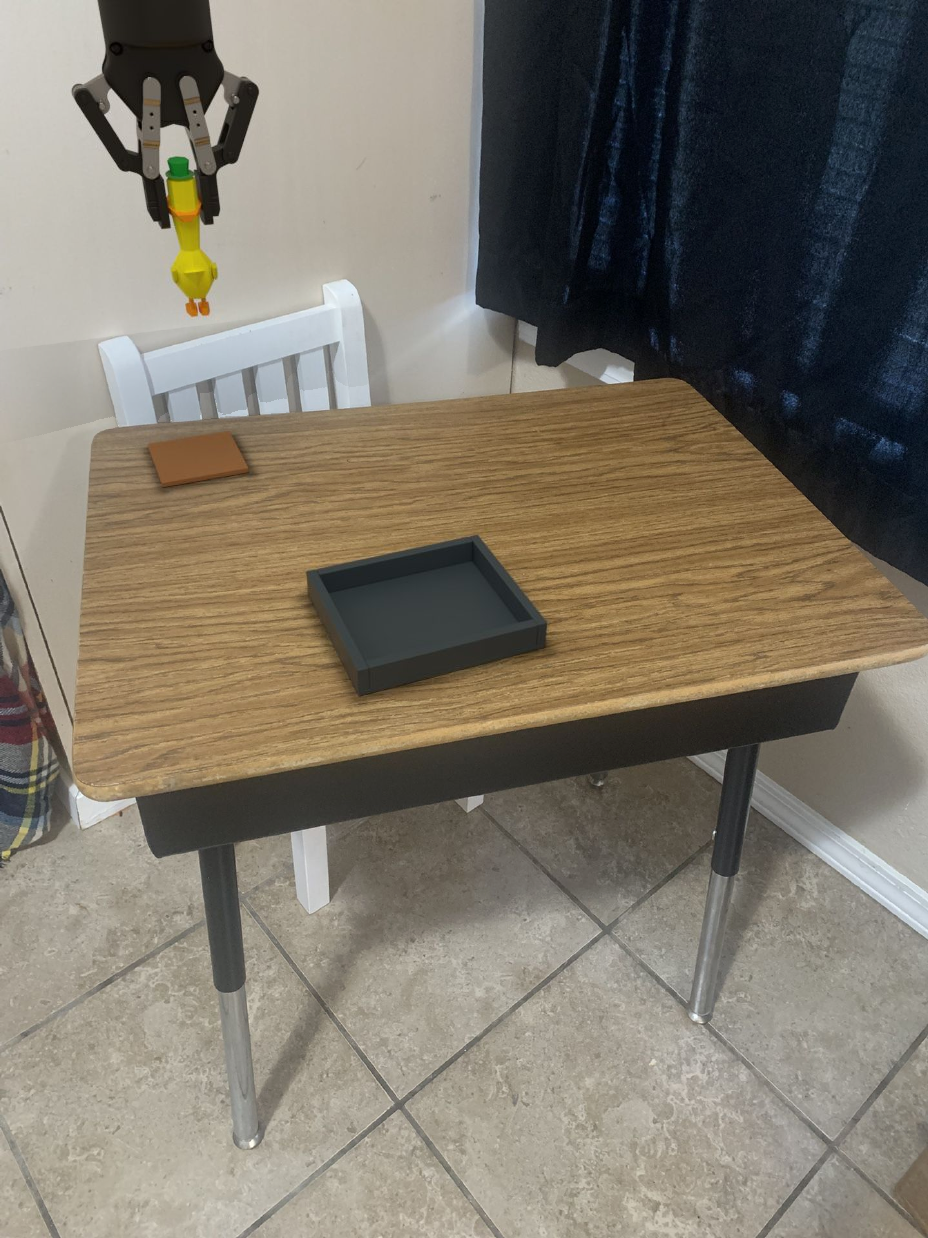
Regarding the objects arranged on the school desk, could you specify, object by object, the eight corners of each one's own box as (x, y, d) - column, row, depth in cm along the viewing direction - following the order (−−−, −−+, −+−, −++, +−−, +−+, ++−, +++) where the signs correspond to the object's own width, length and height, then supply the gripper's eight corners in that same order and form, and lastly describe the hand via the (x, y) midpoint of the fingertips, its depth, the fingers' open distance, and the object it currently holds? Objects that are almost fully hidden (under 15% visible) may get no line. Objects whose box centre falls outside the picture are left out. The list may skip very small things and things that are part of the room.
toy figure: (172, 298, 84) (148, 146, 76) (214, 295, 85) (195, 144, 77) (181, 327, 79) (157, 167, 71) (226, 323, 80) (207, 165, 72)
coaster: (162, 487, 89) (161, 482, 89) (148, 448, 95) (147, 443, 95) (249, 472, 92) (248, 467, 92) (230, 434, 98) (229, 430, 98)
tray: (359, 696, 68) (357, 670, 67) (307, 595, 77) (305, 570, 76) (545, 647, 73) (547, 622, 71) (476, 558, 82) (477, 533, 80)
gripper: (238, -44, 72) (261, 204, 82) (35, -44, 67) (87, 218, 78) (263, -34, 66) (284, 229, 77) (44, -33, 62) (99, 247, 72)
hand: (185, 222), depth 77 cm, fingers closed on toy figure, 2 cm apart
